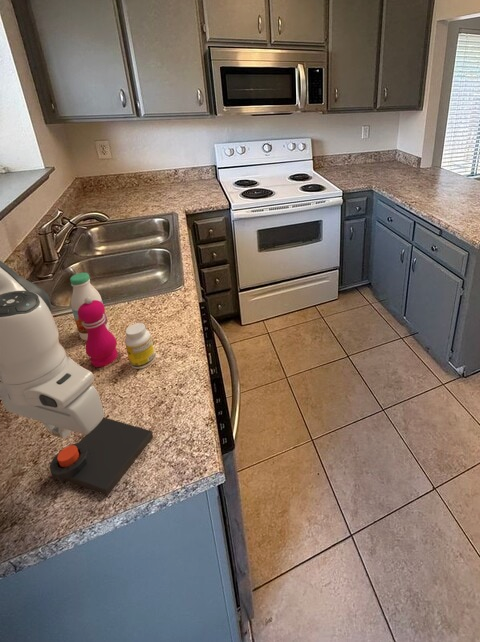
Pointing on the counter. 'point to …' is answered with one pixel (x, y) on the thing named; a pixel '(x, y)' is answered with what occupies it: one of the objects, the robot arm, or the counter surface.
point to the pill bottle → (139, 346)
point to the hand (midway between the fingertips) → (62, 433)
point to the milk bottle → (80, 293)
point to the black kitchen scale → (104, 456)
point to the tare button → (68, 456)
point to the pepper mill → (97, 333)
